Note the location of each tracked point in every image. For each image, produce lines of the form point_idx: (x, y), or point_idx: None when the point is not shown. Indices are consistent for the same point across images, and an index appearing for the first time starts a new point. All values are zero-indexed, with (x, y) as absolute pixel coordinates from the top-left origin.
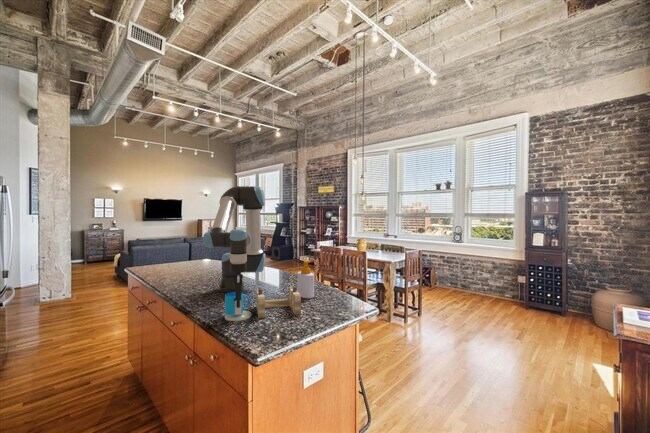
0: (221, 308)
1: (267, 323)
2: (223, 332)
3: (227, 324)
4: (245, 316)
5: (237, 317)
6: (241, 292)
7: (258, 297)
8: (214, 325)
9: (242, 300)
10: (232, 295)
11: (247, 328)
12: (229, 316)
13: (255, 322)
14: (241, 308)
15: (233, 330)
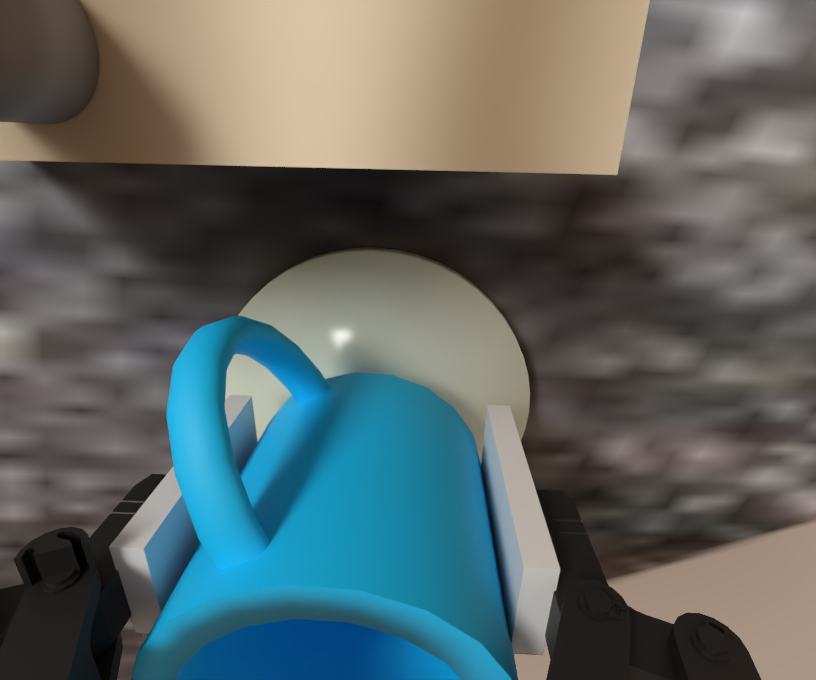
0: (87, 532)
1: (785, 38)
2: (760, 523)
3: (574, 492)
4: (462, 331)
5: (464, 416)
6: (56, 566)
7: (486, 163)
8: None
9: (410, 499)
10: (210, 677)
11: (798, 320)
12: None
13: (656, 213)
14: (439, 430)
15: (765, 449)
